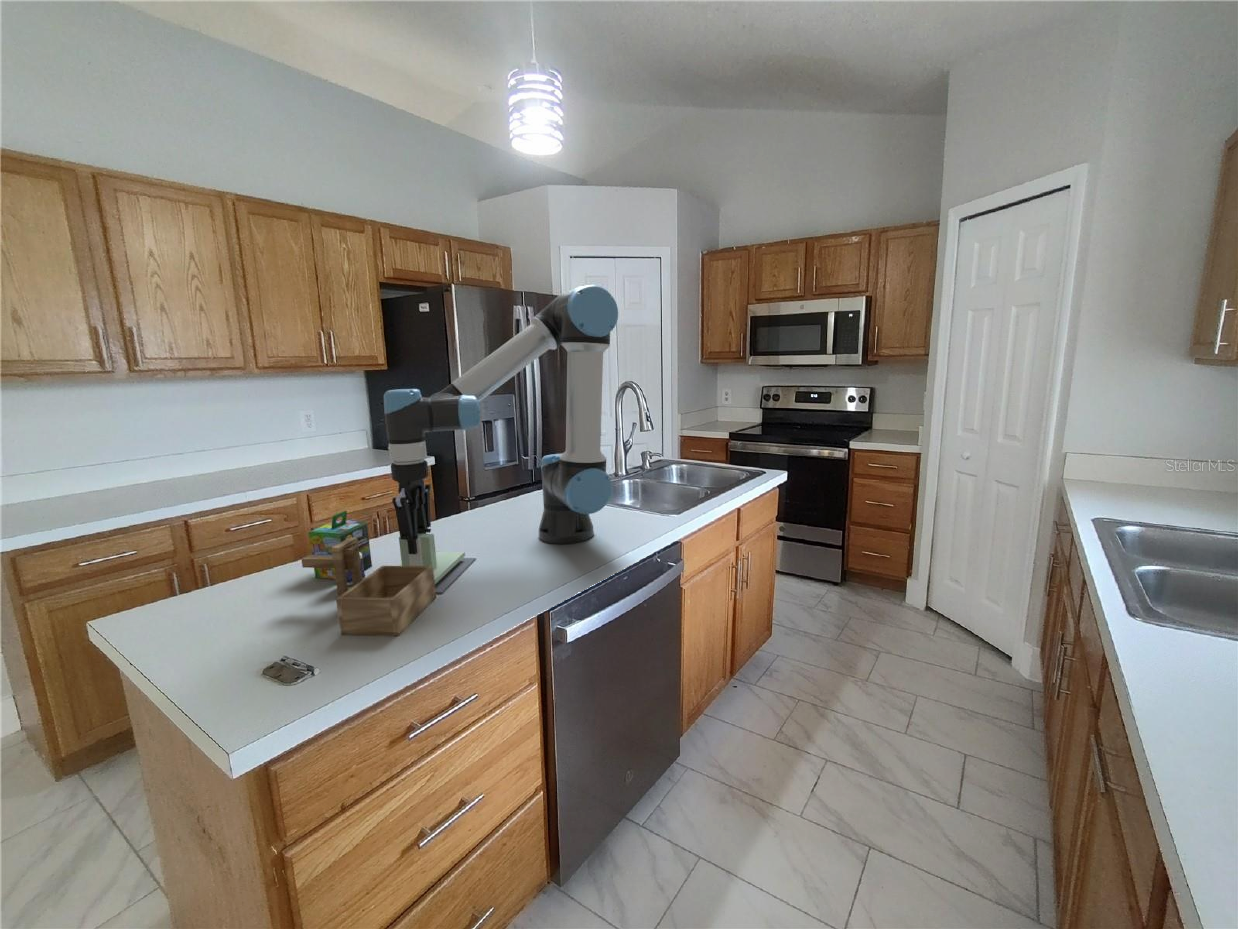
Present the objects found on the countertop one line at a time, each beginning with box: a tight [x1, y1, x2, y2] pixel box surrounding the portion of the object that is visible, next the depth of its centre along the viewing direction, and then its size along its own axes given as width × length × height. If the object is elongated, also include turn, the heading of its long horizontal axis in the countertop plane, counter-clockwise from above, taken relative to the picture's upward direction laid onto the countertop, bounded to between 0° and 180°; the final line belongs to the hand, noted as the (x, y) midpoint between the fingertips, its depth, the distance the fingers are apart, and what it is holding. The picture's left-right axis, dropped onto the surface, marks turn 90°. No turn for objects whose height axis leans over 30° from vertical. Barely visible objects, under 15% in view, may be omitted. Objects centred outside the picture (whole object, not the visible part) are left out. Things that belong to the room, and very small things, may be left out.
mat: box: [435, 557, 477, 595], centre depth 127 cm, size 16×20×1 cm
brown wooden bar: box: [300, 546, 361, 569], centre depth 111 cm, size 2×11×4 cm, turn 84°
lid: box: [398, 533, 466, 584], centre depth 126 cm, size 17×12×9 cm
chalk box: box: [308, 510, 373, 580], centre depth 129 cm, size 9×9×15 cm
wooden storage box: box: [331, 538, 437, 637], centre depth 107 cm, size 16×17×13 cm
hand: (419, 563), depth 124 cm, fingers closed on lid, 2 cm apart
